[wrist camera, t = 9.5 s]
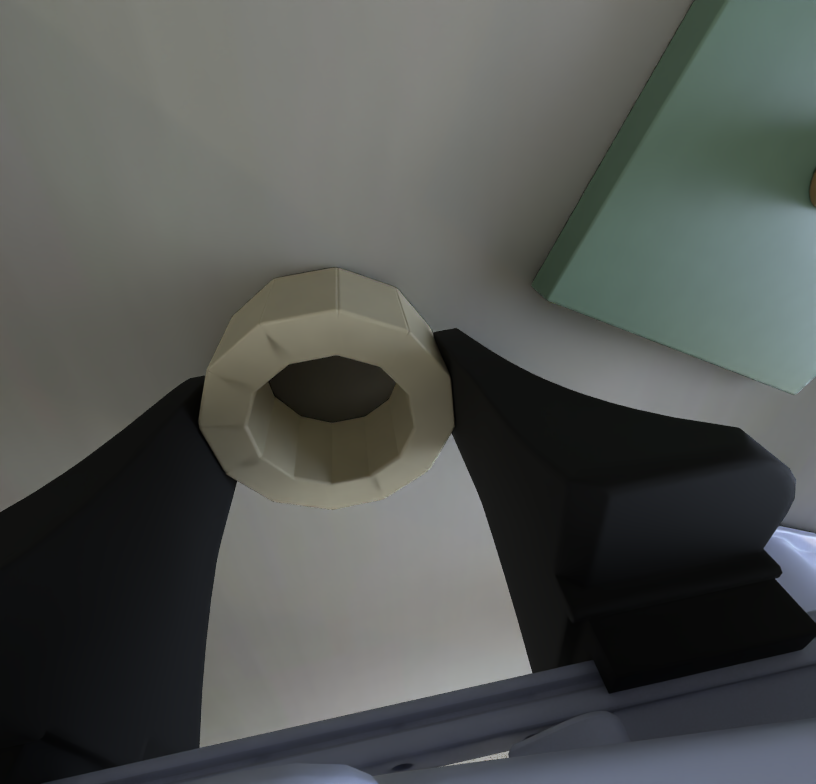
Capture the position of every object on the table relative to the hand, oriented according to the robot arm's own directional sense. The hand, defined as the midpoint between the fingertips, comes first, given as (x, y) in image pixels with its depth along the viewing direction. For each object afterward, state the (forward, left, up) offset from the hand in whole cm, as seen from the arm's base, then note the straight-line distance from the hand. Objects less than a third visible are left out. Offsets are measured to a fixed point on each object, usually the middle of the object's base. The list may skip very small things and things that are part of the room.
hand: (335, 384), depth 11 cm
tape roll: (0, 0, -1) cm, 1 cm away
